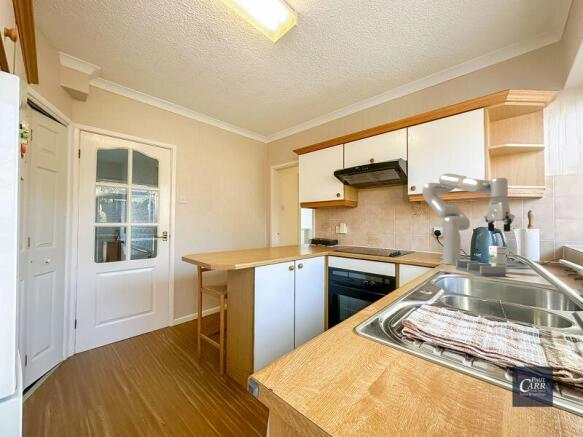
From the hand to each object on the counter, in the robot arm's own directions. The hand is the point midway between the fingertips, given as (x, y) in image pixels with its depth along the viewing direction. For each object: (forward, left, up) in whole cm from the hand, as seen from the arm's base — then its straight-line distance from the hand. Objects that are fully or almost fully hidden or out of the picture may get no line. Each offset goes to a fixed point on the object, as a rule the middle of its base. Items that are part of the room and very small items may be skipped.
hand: (498, 231), depth 134 cm
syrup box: (0, 0, -23) cm, 23 cm away
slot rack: (+1, -12, -23) cm, 26 cm away
